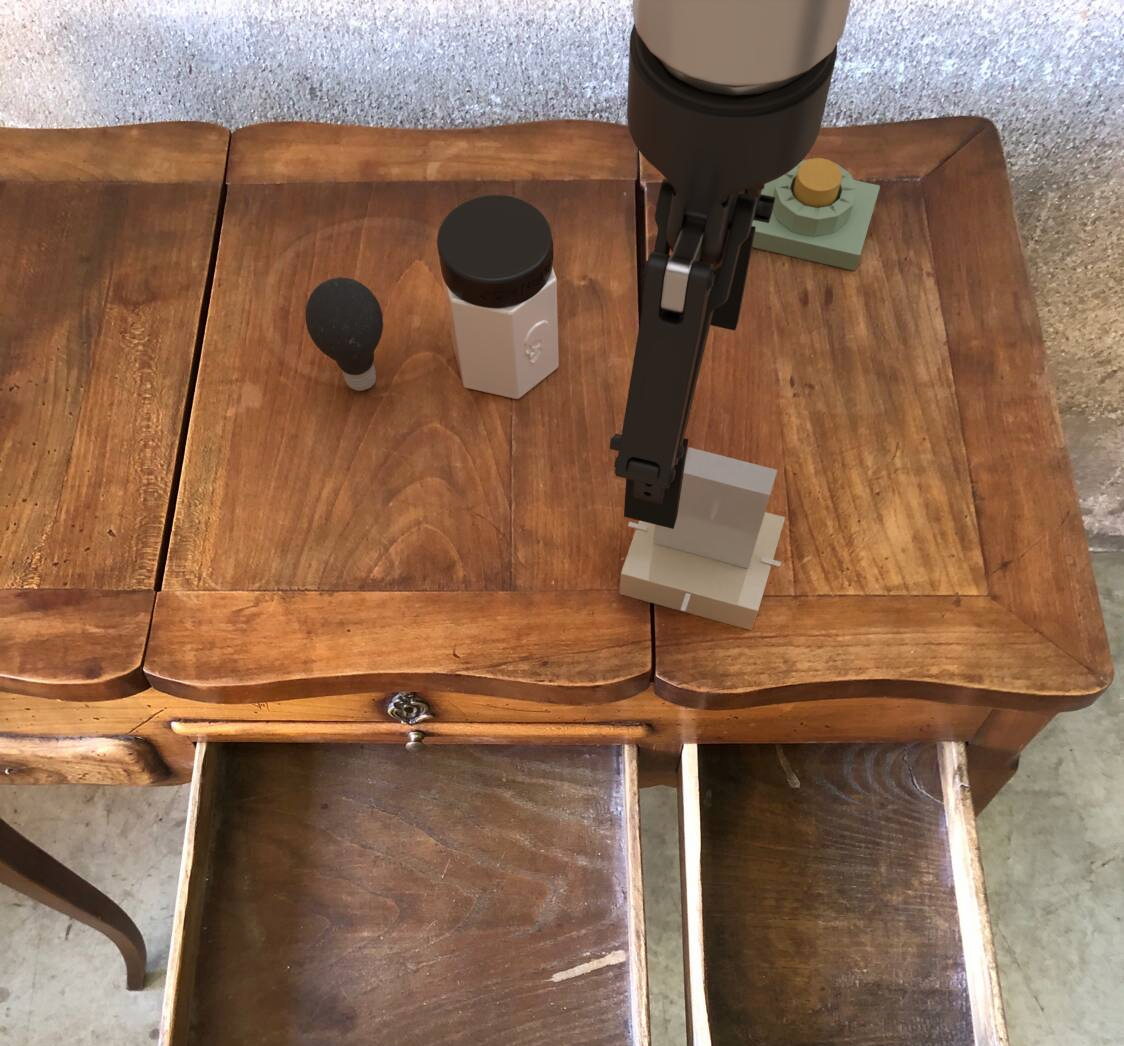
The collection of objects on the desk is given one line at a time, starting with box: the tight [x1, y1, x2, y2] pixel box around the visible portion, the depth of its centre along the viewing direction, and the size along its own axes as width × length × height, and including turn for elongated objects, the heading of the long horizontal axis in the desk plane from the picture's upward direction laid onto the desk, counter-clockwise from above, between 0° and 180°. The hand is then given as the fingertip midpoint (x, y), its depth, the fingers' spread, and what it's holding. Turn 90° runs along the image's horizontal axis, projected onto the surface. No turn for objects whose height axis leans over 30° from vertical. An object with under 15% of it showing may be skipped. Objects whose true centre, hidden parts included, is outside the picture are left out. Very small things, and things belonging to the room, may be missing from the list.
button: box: [793, 157, 842, 208], centre depth 85 cm, size 4×4×2 cm
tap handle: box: [653, 446, 778, 569], centre depth 70 cm, size 7×2×9 cm, turn 72°
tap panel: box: [618, 511, 786, 631], centre depth 76 cm, size 11×11×3 cm
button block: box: [752, 158, 881, 272], centre depth 87 cm, size 10×8×4 cm
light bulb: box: [304, 276, 384, 391], centre depth 79 cm, size 6×6×10 cm
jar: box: [436, 194, 560, 400], centre depth 79 cm, size 9×8×12 cm
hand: (683, 415), depth 57 cm, fingers open, 13 cm apart
